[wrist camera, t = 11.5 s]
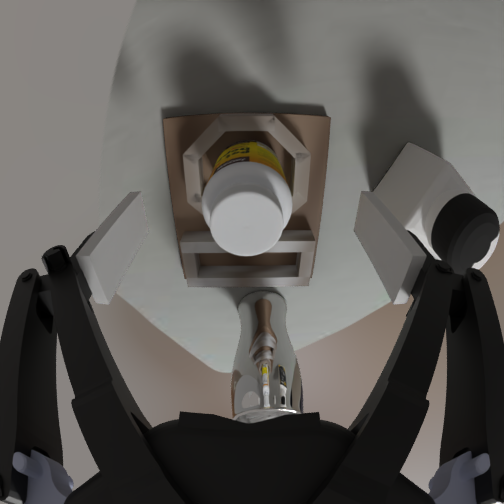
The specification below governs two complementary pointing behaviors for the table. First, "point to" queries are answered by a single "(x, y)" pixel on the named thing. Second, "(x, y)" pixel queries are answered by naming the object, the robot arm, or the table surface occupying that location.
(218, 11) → the table surface
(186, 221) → the socket board
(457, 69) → the table surface
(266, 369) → the beer glass
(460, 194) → the medicine bottle
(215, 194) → the supplement bottle
